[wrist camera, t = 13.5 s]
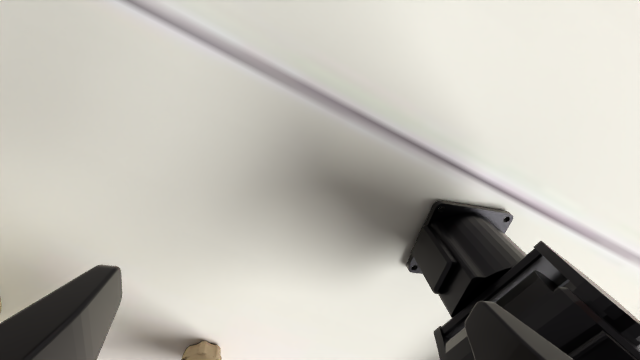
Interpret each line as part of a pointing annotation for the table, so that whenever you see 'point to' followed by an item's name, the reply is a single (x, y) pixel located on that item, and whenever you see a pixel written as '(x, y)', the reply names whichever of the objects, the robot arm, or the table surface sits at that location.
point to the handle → (202, 352)
